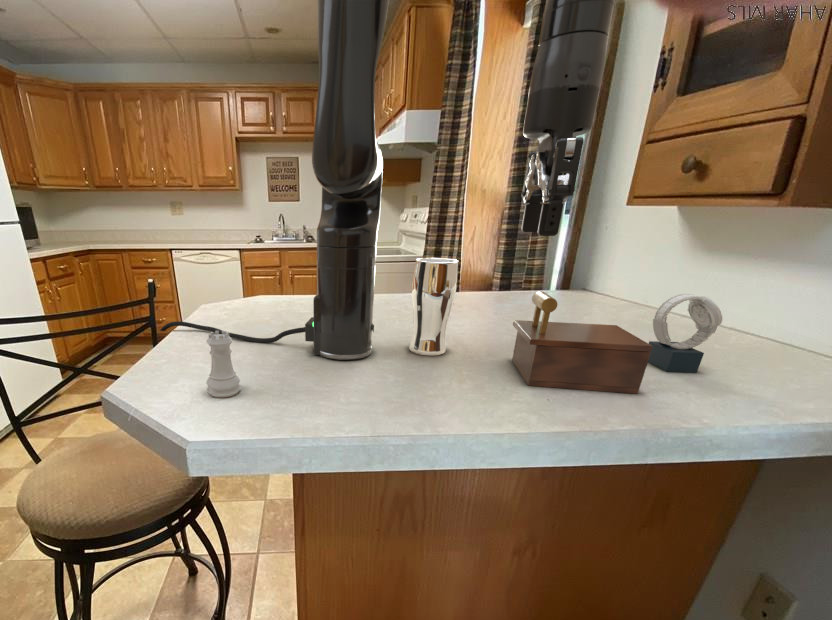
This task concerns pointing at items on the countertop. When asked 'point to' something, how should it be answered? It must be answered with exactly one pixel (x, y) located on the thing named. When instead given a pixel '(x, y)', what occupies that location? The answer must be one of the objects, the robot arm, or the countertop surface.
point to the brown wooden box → (580, 367)
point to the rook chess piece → (221, 367)
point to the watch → (682, 353)
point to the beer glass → (432, 303)
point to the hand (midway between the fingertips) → (537, 233)
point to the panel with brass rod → (574, 331)
